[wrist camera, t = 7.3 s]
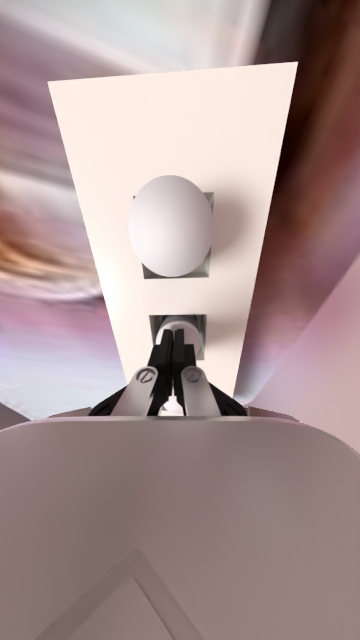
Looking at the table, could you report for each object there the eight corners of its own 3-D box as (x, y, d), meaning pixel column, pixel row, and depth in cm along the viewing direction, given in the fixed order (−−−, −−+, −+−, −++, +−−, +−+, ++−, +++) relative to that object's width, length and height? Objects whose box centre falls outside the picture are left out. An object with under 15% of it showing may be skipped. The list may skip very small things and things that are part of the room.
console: (102, 153, 11) (47, 81, 7) (250, 144, 11) (298, 61, 6) (148, 397, 24) (139, 430, 19) (217, 398, 23) (225, 432, 19)
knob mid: (161, 307, 15) (153, 324, 11) (197, 306, 15) (202, 323, 11) (164, 337, 17) (158, 361, 13) (196, 337, 17) (200, 361, 13)
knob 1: (146, 210, 10) (120, 177, 6) (203, 208, 9) (217, 172, 5) (152, 271, 11) (135, 277, 7) (201, 269, 11) (210, 275, 7)
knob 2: (166, 363, 18) (161, 391, 15) (195, 362, 18) (199, 391, 14) (168, 384, 20) (164, 414, 16) (195, 384, 20) (198, 414, 16)
